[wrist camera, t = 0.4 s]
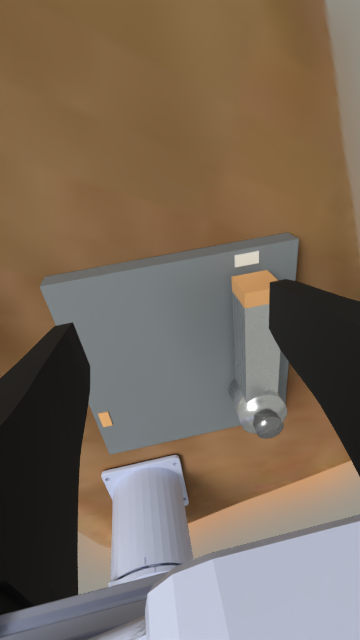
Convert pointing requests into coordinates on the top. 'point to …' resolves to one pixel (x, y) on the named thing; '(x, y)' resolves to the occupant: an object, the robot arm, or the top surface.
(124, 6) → the top surface
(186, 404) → the plate
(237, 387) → the lever
